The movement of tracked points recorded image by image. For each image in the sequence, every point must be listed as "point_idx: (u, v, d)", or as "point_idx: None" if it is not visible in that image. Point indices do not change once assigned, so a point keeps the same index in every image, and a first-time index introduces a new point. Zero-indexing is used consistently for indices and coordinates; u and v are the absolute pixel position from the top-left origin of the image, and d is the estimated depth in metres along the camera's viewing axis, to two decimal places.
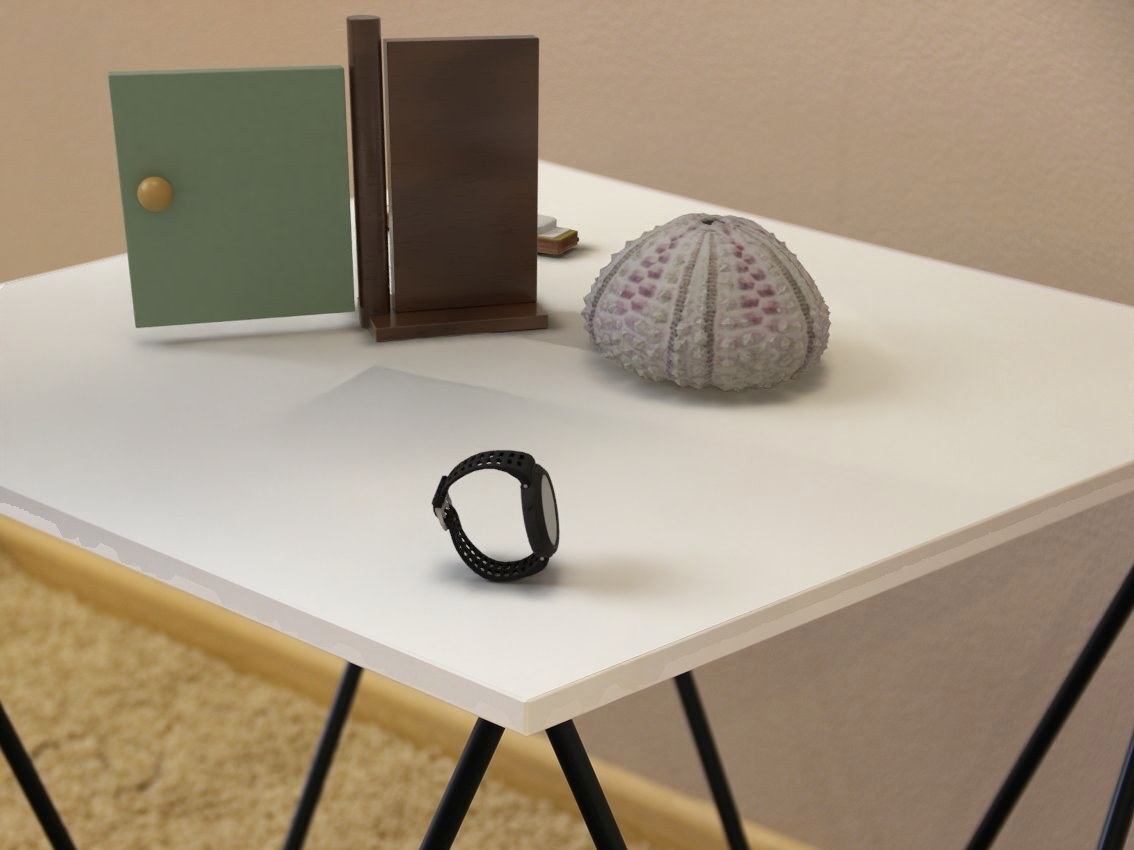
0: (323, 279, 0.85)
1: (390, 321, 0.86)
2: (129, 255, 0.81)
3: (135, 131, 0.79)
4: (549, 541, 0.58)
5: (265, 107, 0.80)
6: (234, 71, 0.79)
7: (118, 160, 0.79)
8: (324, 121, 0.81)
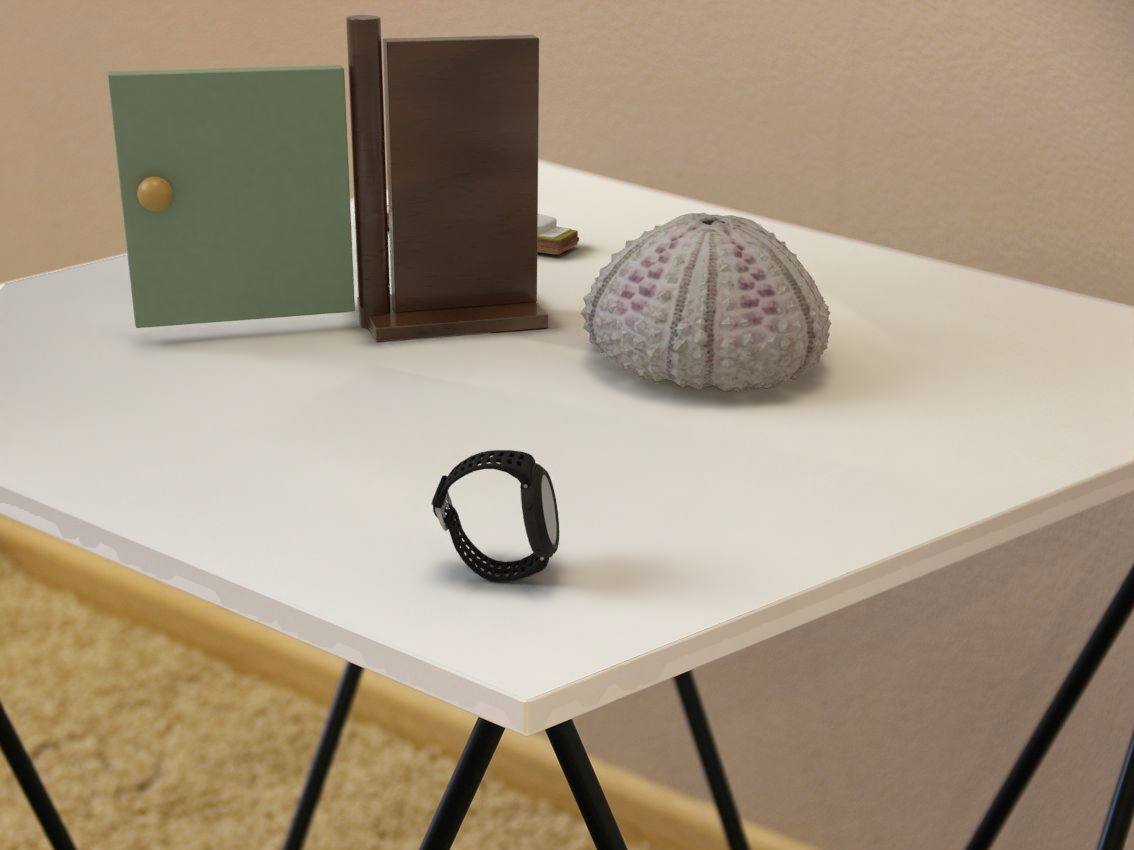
0: (323, 279, 0.85)
1: (390, 321, 0.86)
2: (129, 255, 0.81)
3: (135, 131, 0.79)
4: (549, 541, 0.58)
5: (265, 107, 0.80)
6: (234, 71, 0.79)
7: (118, 160, 0.79)
8: (324, 121, 0.81)
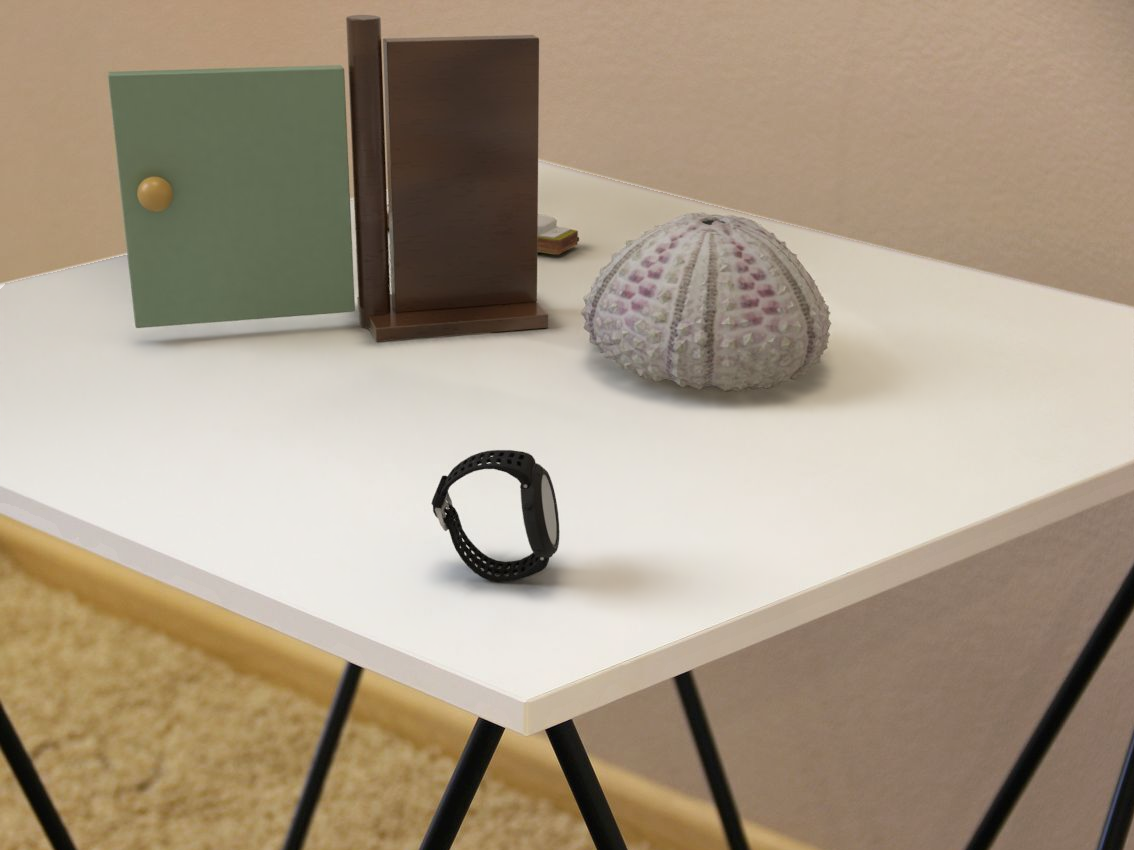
0: (323, 279, 0.85)
1: (390, 321, 0.86)
2: (129, 255, 0.81)
3: (135, 131, 0.79)
4: (549, 541, 0.58)
5: (265, 107, 0.80)
6: (234, 71, 0.79)
7: (118, 160, 0.79)
8: (324, 121, 0.81)
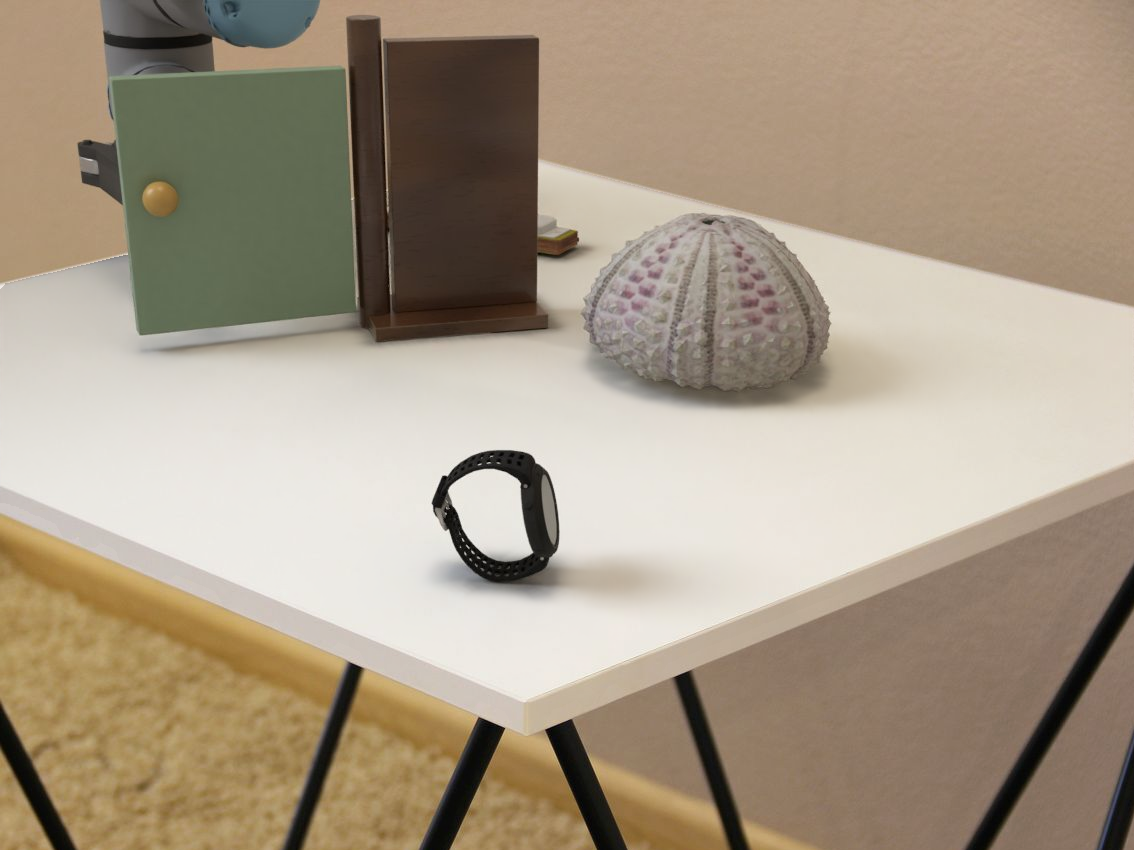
0: (325, 280, 0.85)
1: (390, 321, 0.86)
2: (132, 262, 0.80)
3: (138, 136, 0.78)
4: (549, 541, 0.58)
5: (268, 109, 0.80)
6: (237, 73, 0.78)
7: (121, 166, 0.78)
8: (326, 122, 0.81)
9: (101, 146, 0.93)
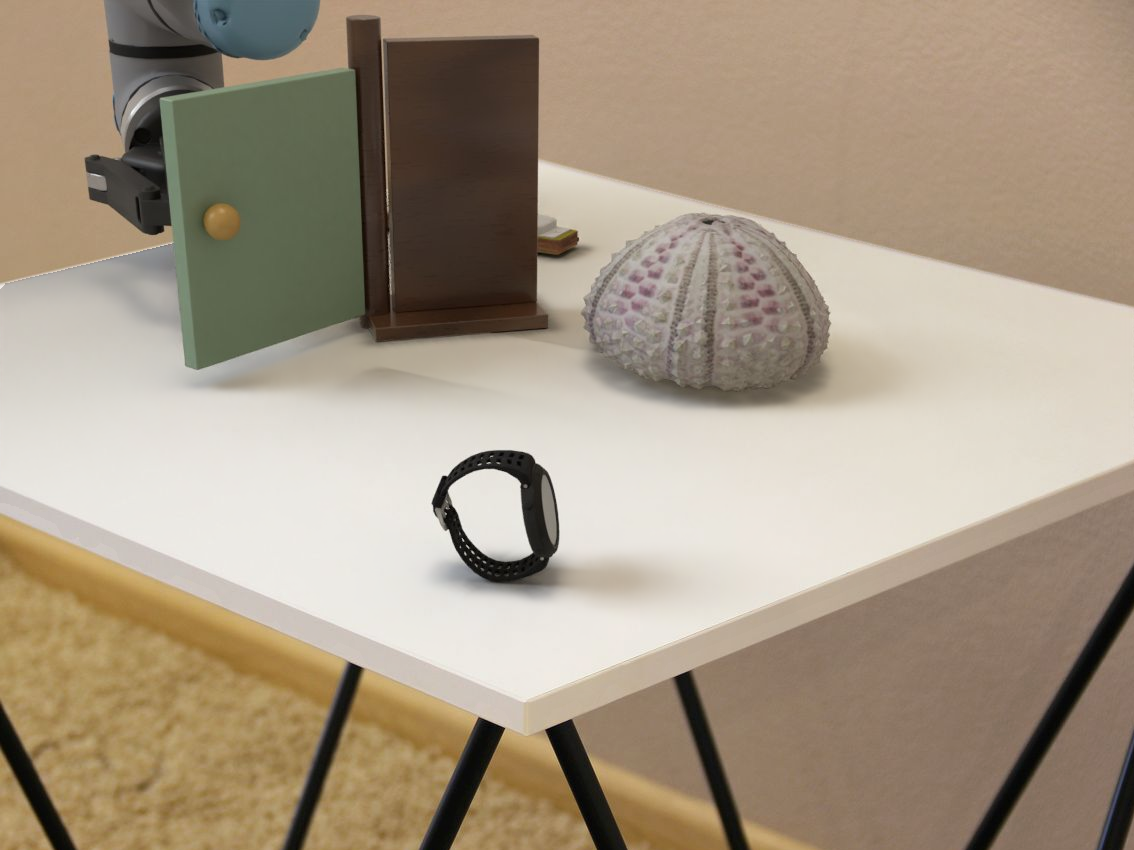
0: (342, 286, 0.84)
1: (390, 321, 0.86)
2: (191, 293, 0.76)
3: (195, 158, 0.74)
4: (549, 541, 0.58)
5: (298, 117, 0.78)
6: (272, 83, 0.76)
7: (181, 191, 0.73)
8: (341, 125, 0.81)
9: (109, 161, 0.89)
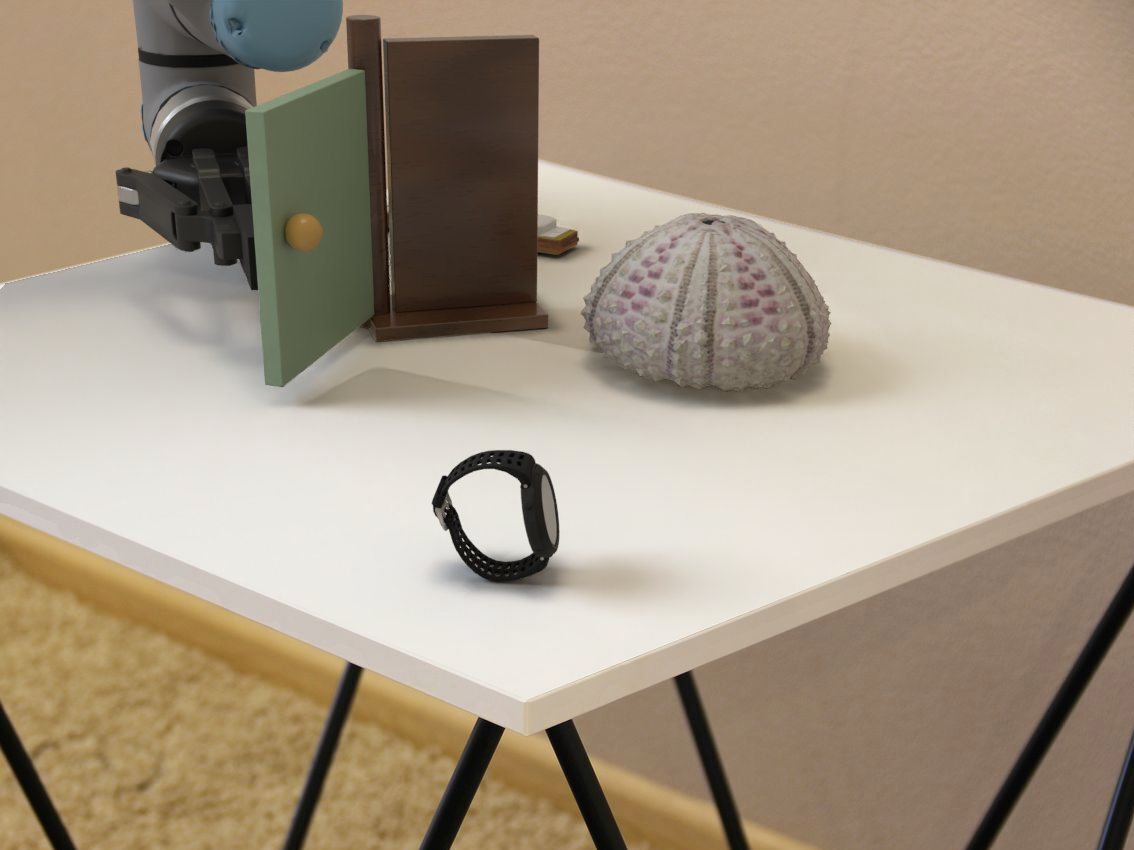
0: (361, 288, 0.84)
1: (390, 321, 0.86)
2: (278, 308, 0.74)
3: (278, 169, 0.72)
4: (549, 541, 0.58)
5: (334, 121, 0.77)
6: (319, 88, 0.75)
7: (270, 205, 0.72)
8: (358, 127, 0.80)
9: (141, 175, 0.86)
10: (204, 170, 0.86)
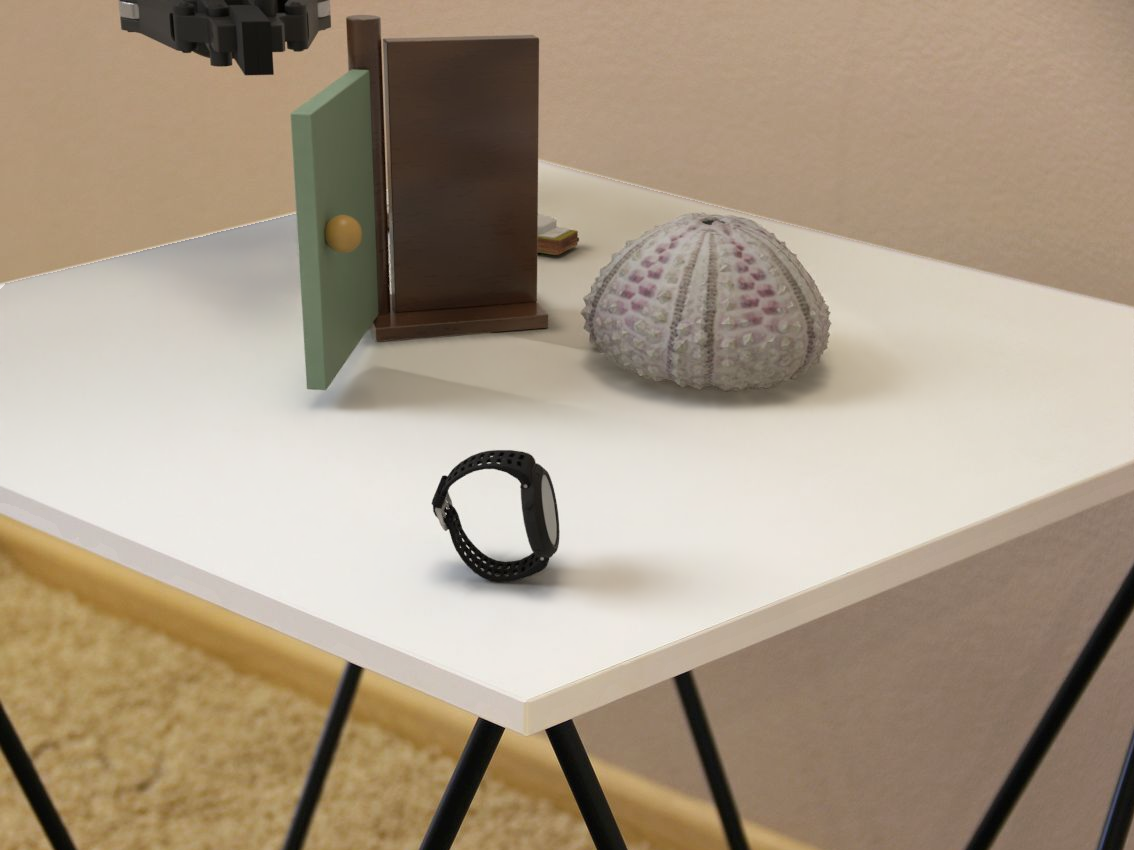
0: (370, 289, 0.84)
1: (390, 321, 0.86)
2: (322, 311, 0.74)
3: (320, 171, 0.72)
4: (549, 541, 0.58)
5: (352, 122, 0.77)
6: (342, 89, 0.75)
7: (316, 207, 0.71)
8: (366, 127, 0.80)
9: None
10: None
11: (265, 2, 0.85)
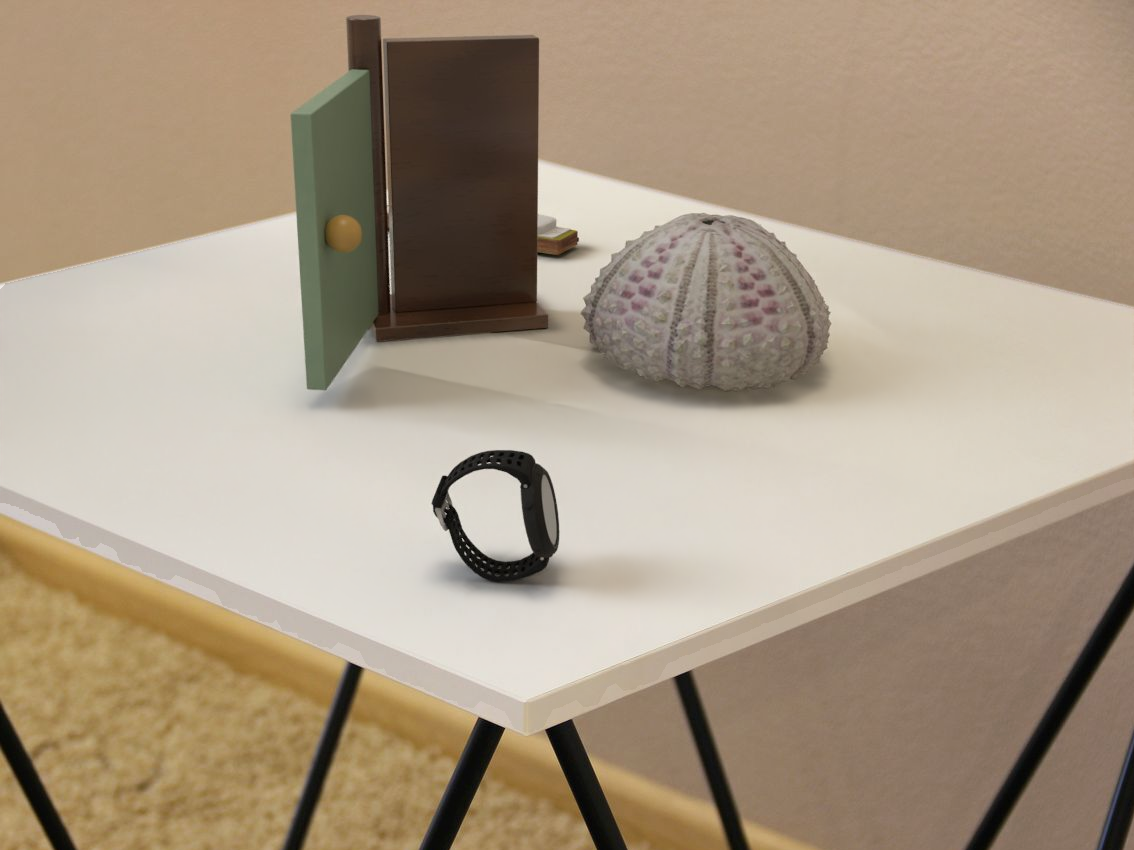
0: (370, 289, 0.84)
1: (390, 321, 0.86)
2: (322, 311, 0.74)
3: (320, 171, 0.72)
4: (549, 541, 0.58)
5: (352, 122, 0.77)
6: (342, 89, 0.75)
7: (316, 207, 0.71)
8: (366, 127, 0.80)
9: None
10: None
11: None
